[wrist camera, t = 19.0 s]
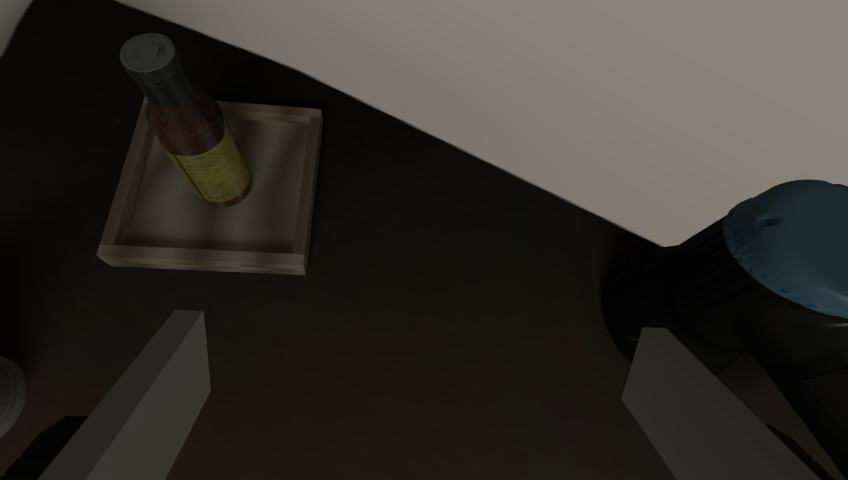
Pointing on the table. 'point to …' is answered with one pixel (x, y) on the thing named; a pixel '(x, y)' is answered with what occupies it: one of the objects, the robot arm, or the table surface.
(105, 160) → the table surface
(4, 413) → the glass holder
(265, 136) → the birch tray
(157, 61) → the sauce bottle
